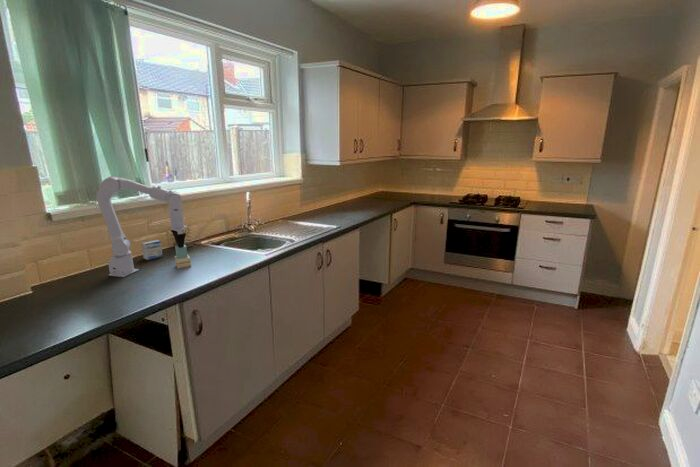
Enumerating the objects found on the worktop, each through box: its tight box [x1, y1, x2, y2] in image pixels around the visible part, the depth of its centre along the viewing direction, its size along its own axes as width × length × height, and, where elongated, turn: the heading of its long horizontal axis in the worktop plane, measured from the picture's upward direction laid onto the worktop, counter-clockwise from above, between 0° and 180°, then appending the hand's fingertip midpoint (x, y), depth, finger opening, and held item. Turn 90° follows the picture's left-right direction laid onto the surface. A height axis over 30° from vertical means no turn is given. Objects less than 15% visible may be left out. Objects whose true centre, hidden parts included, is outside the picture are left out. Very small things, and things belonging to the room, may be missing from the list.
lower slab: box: [175, 261, 192, 269], centre depth 181 cm, size 6×6×2 cm
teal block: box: [174, 244, 188, 259], centre depth 179 cm, size 4×4×6 cm
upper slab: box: [174, 253, 191, 264], centre depth 180 cm, size 6×6×2 cm
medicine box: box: [141, 239, 163, 261], centre depth 192 cm, size 8×4×9 cm, turn 143°
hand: (180, 245), depth 179 cm, fingers open, 7 cm apart
